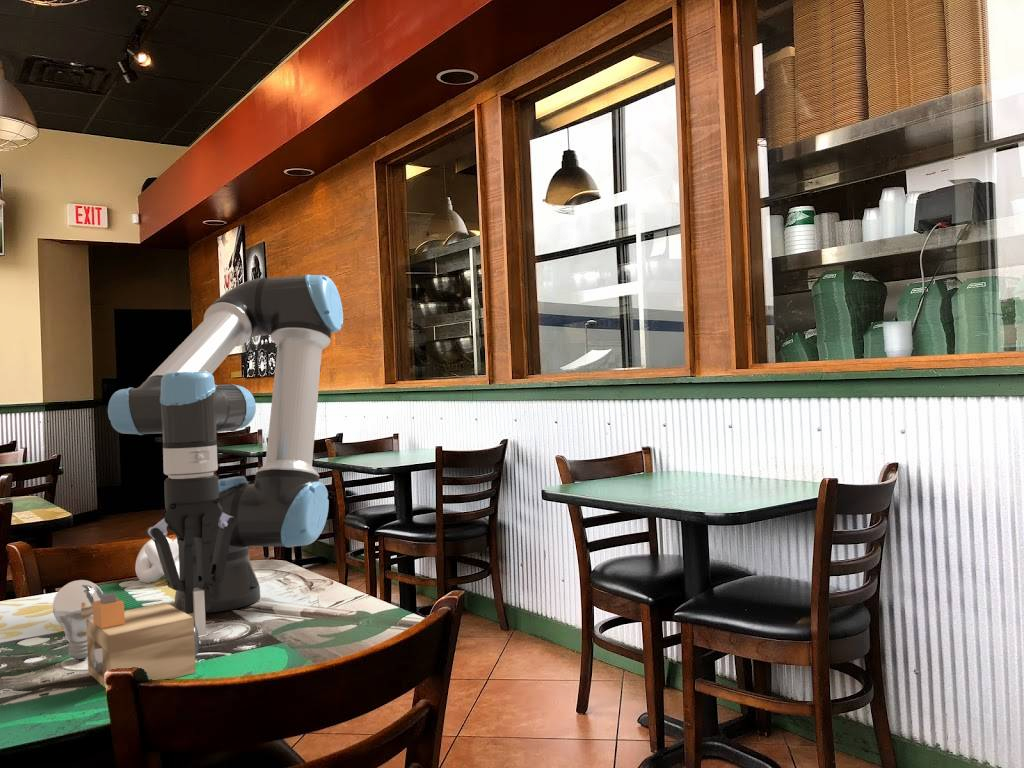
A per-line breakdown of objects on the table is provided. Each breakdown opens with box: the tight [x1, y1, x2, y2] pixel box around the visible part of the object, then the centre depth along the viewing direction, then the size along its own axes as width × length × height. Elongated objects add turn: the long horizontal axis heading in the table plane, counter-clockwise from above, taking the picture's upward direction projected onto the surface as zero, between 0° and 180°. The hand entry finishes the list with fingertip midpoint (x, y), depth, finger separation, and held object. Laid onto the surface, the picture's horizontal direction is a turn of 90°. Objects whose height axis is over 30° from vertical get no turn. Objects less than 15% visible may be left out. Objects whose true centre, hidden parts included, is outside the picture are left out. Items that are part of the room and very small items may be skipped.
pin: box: [93, 623, 200, 672], centre depth 116 cm, size 5×13×5 cm, turn 131°
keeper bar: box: [93, 592, 125, 629], centre depth 113 cm, size 4×3×4 cm
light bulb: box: [52, 579, 104, 662], centre depth 122 cm, size 7×7×12 cm
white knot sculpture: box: [134, 536, 180, 584], centre depth 174 cm, size 11×12×9 cm
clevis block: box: [86, 602, 197, 688], centre depth 115 cm, size 12×11×8 cm
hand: (197, 633), depth 121 cm, fingers closed
